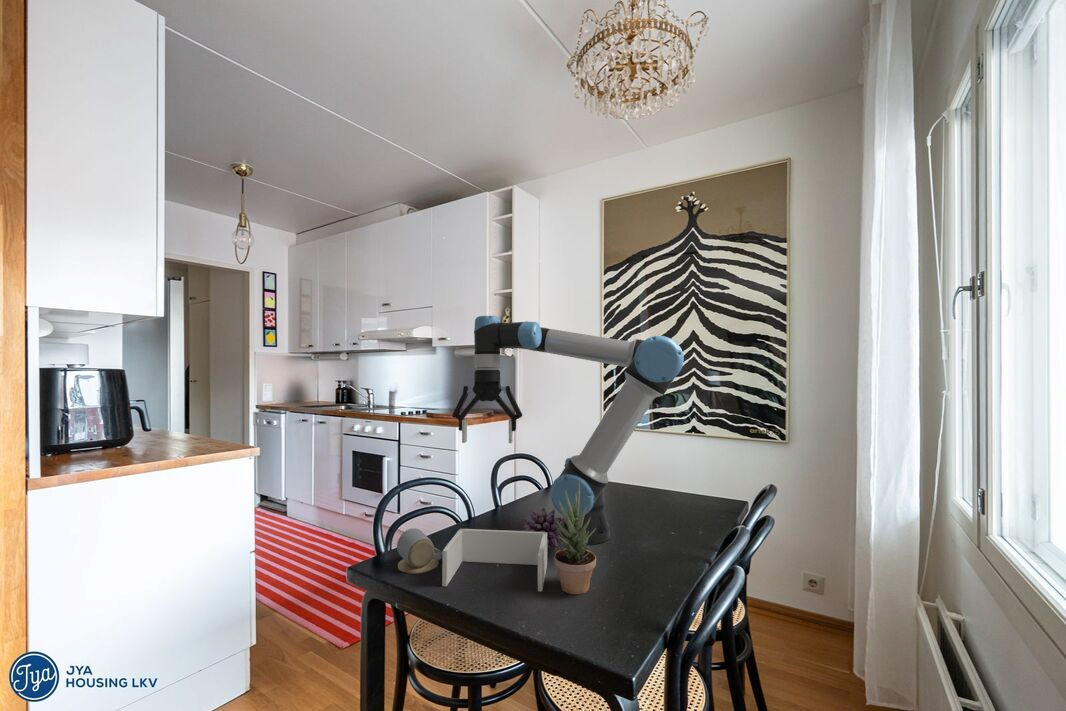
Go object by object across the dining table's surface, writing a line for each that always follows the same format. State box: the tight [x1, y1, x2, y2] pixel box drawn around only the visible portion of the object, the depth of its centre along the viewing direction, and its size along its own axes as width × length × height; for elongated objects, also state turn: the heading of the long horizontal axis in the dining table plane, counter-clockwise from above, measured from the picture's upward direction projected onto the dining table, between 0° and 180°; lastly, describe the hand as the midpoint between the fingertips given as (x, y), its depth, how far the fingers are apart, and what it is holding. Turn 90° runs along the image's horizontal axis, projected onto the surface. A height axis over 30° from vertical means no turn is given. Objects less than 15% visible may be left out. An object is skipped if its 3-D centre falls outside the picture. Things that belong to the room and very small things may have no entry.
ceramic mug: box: [396, 527, 443, 567], centre depth 119 cm, size 11×8×8 cm
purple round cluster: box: [521, 507, 563, 552], centre depth 127 cm, size 12×12×12 cm
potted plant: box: [553, 480, 597, 595], centre depth 106 cm, size 10×10×25 cm
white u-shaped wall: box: [441, 528, 548, 592], centre depth 113 cm, size 23×15×8 cm, turn 84°
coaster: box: [397, 558, 439, 575], centre depth 118 cm, size 10×10×1 cm
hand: (487, 442), depth 135 cm, fingers open, 13 cm apart
